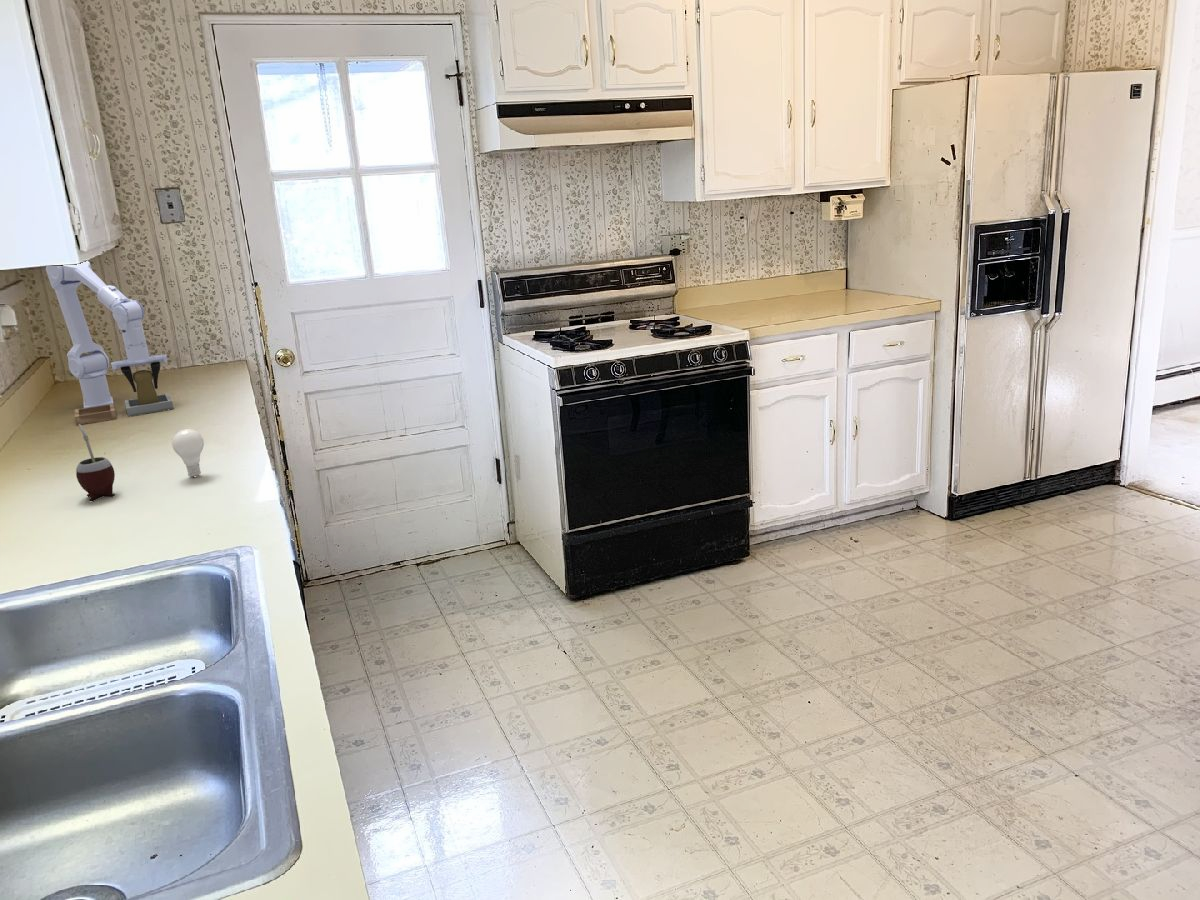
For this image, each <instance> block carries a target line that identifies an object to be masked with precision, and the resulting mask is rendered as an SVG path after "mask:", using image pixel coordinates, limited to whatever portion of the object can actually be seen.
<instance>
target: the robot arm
mask: <svg viewBox="0 0 1200 900" xmlns="http://www.w3.org/2000/svg"><path fill="white" fill-rule="evenodd" d="M45 271H46V274H47V278H48V280H49V283H50V286H51V288H52V289H53V290H54V292H55V294H56V295H55V296H56V298H57V301H58V304H59V307H60V309H61V313H62V316H63V319H64V322H65V324H66V327H67V330H68V333H69V337H70V339H71V342H72V347H71V348H70V349H69V351H68V352H67V354H66V357H67V360H68V362H67V363H68V366H67V367H68V370H69V371H70V373H71V375H73V376H74V377H75V378H76V379H78V381H79V386H80V389H81V392H82V393H81V395H82V398H83V400H82V401H83V402H82V403H83V408H88V407H94V406H101V405H107V404H114V399H113V398H114V397H113V396H111V393H110V389H109V388H110V387H109V385H108V381H107V380H108V379H107V377H106V376H107V375H106V374H108V369H109V368H110V366H111V369H112V370H113V371H114V370H118V369H120V370H121V373H122V374H123V375H124V376H125V379H127V380H128V382H129V384H130V385H131V388H132V391H133V392H134V393H137V386H136V384H135V381H134V379H133V373H132V368H133V367H137V366H138V367H139V366H145V365H149V366H150V371H151V372H152V374H153V379H152V382H153V386H154V388H155V390H157V389H158V381H159V379H158V378H159V373H160V370H161V363H169V362H168V357H167V354H159V355H150V353H149V348H148V344H147V339H146V335H145V334H146V333H145V330H144V326H143V319H144V318H145V314H146V313H145V309H144V307H143V305H142V304H141V302H140V301H139V300H137V299H131V298H128V297H127V296H125V295H124V294H123V293H122V292H121V291H120V290H119V289H117V287H116V286H114V285H109V284H108V285H107V284H106V283H105V282H104V281H103V280H102V279H101V278H100V277H99V276H98V275H97V274H96V273H95V272H94V271H93V269H92V264H91V263H90V261H88V260H87V261H86V262H83V263H81V264H77V265H63V266H47V265H46V267H45ZM81 284H83V285H85V286H86V287H88V288H89V289H90V290H91V291H92V292H94V293H95V294H97V295H96V297H97V300H98V301H99V302H100V303H101V304H102V305H104V307H106V308H107V309H108V310H109V311H110V312H112V313H111V314H112V318H113V319H114V321H115V322H116V324H117V327H118V330H120V331H121V335H122V341H123V344H124V349H125V355H126V358H127V359H123V360H118V361H117V360H116V361H113V362H112V361H111V362H110V359H109V357H108V355H107V354H106V353H105V350H104V348H103V346H101V345H100V344H98V343H96V342H94V341H93V339H92V335H91V332H90V329H89V326H88V323H87V320H86V317H85V315H84V314H85V313H84V311H83V308H82V305H81V303H80V299H79V295H78V293H77V288H78V287H79V285H81ZM110 364H111V365H110Z"/></svg>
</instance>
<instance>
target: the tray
mask: <svg viewBox="0 0 1200 900" xmlns="http://www.w3.org/2000/svg"><path fill="white" fill-rule="evenodd" d="M157 396H158V399H159V403H152V404H146V405H140V406H138V397H137V398H132V399H125V400H124V405H125V409H126V412H127V413H128V414H127V413H126V414H127V417H128V416H131V417H135V416H134V415H137V416H141V415H140V414H143V415H147V414H146V413H149V414H153V413H152V412H155V413H159V412H158V411H161V412H164V411H163V410H167V411H169V410H168V409H173V410H174V405H173V400H172V398H171V396H170V394H169V392H168V393H163V394H157Z"/></svg>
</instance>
